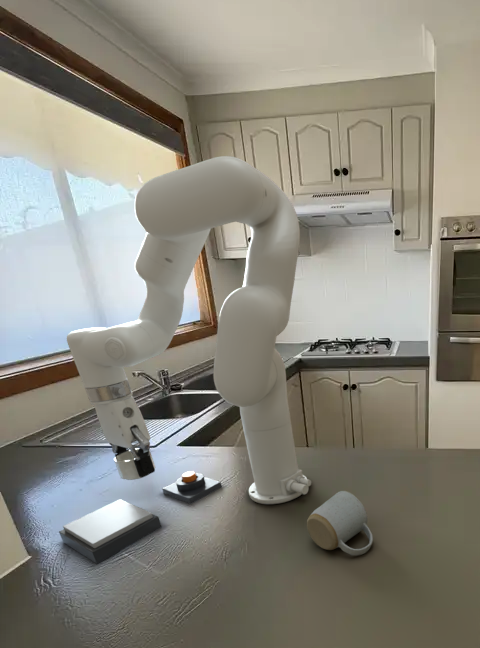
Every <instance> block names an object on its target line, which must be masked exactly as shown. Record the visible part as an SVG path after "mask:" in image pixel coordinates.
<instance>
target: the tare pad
mask: <svg viewBox="0 0 480 648" xmlns="http://www.w3.org/2000/svg"><path fill="white" fill-rule="evenodd" d="M195 474H196V477H197V479H196V480H194V481H191V482H186V483H184V482H183V479H182V475H181V476H180V477H178V478H177V479H176V480H175V481H174V482H172V483H170V484H168V485H166V486H164V487H162V492H163V494H164V495H166V496H169V497H171V498H175V499H177V500H179V501H182V502H183V503H184V502H185V503H187V504H189V505H192V504H193V503H195V502H198V501H199V500H200V499H202V498H204V497H206V496H208V495H209V494H212V493H213V492H215V491H217V490H219V489H221V488H222V483H221V481H220V480H217V479H214V478H211V477H207V476H204V474H203V473H202V472H195Z"/></svg>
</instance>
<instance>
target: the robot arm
mask: <svg viewBox="0 0 480 648" xmlns="http://www.w3.org/2000/svg"><path fill="white" fill-rule="evenodd" d="M133 205H134V207H133V208H134V213H135V218H136V220H137V222H138V224H139V225H140V226H141V227H142V229H143V230H144V231H145V232H146V233H145V236H144V238H143V241H142V243H141V245H140V249H139V251H138V253H137V256H136V259H135V261H134V270H135V272H136V274H137V275H138V277H140V278H141V279H142V280H143V283H144V285H145V288H146V293H145V299H144V302H143V305H142V308H141V310H140V312H139V315H138V317H137V319H136V320H134V321H133V320H132V321H128V322H125V323H122V324H118V325H113V326H110V327H104V326H96V327H87V328H82V329H81V328H80V329H77V330H73V331H70V332H69V333H68V334H67V335H66V343H67V346H68V348H69V351H70V353H71V356H72V358H73V361H74V364H75V366H76V370H77V372H78V374H79V377H80V380H81V383H82V385H83V388H84V390H85V393H86V396H87V398H88V401H89V403H90V405H93V406H94V409H95V414H96V416H97V420H98V423H99V426H100V429H101V432H102V434H103V437H104V439H105V440H106V442H107V443H108V444H109V445H110V446H111V450H112V452H113V454H114V458H115V457H116V456H118V455H119V454H121V453H123V452H126V451H129V450H130V451H131V453H132V454H133V456H134V458H135V459H136V460H134V463H135V466H136V469H137V472H138V474H139V477H143V478H145V477H147V476H149V475H151V474H153V473H155V471H156V468H155V469H154V466H153V463H152V460H151V457H150V452H151V449H150V446H151V442H150V441H151V434H150V433H149V430H148V427H147V424H146V422H145V419H144V417H143V414H142V411H141V410H140V408H139V406H138V404H137V402H136V400H135V398H134V395H133V391H132V388H131V385H130V382H129V379H128V376H127V374H126V370H125V368H130V367H134V366H136V365H139V364H141V363H144V362H146V361H148V360H151V359H153V358H156V357H158V356H160V355H161V354H163V353H164V352H165V351H166V350H167V348H168V347H169V346H170V344H171V341H173V338H174V335H175V334H176V332H177V330H178V327H179V325H180V322H181V320H182V316H183V311H184V303H185V289H186V287H187V283H188V281H189V279H190V277H191V275H192V272H193V270H194V267H195V265H196V263H197V261H198V258H199V257H200V254H201V253H202V251H203V248H204V246H205V244H206V241H207V240H208V237H209V235H210V233H211V229H214V228H217V227H220V226H224V225H228V224H231V223H239V224H243V225H244V224H245V225H247V226H248V227H249V228H250V232H251V238H250V241H249V245H248V250H247V253H246V259H245V271H244V278H243V283H242V287H238V288H236V289H234V290H233V291H232V292H230V294H228V296H226V298H225V299H224V301H223V303H222V305H221V308H220V312H219V316H218V323H217V333H216V340H215V341H216V343H215V351H214V359H213V360H214V361H213V382H214V386H215V389H216V392H217V393H218V395H219V396H220V397H221V398H222V399H223V400H224V401H225V402H226V403H228V404H229V405H232V406H235V407H239V414H240V420H241V425H242V429H243V434H244V439H245V444H246V449H247V454H248V458H249V463H250V468H251V472H252V477H253V481H254V482H252V484H251V485H250V486H249V488H248V495H249V498H250V499H251V500H252V501H253V502H256V503H258V504H260V505H261V504H262V505H279V504H283V503H288V502H290V501H292V500H294V499H296V498H298V497H300V496H301V495H307V494H308V492H309V487H311V486H312V480H311V479H309V478H307V476H306V475H304V474H303V469H300V468H299V463H298V458H297V451H296V445H295V440H294V438H295V437H294V431H293V426H292V420H291V418H292V417H291V414H290V413H291V412H290V406H289V398H288V388H287V385H288V384H287V372H286V366H285V362H284V359H283V357H282V355H281V354H280V352H279V351H278V350H277V348H276V343H277V342H276V341H277V337H278V336H279V335H281V333H283V332H284V331H285V329H286V328H287V326H288V324H289V321H290V314H291V306H292V297H293V292H294V285H295V281H296V280H295V279H296V272H297V271H296V270H297V264H298V259H299V252H300V251H299V249H300V240H301V231H300V229H301V228H300V221H299V218H298V215H297V212H296V209H295V207H294V204H293V203H292V201H291V200H290V198H289V196H288V195H287V194H286V192H284V190H283V189H282V188H281V187H280V186H279V185H278V184H277V183H275V181H273V180H272V179H271V177H269V176H268V175H267V174H265V173H264V172H262V171H261V170H260V169H258V168H256V167H254V166H253V165H252V164H250V163H249V162H247V161H245V160H243V159H241V158H239V157H236V156H233V155H232V156H231V155H222V156H221V155H220V156H215V157H212V158H208V159H205V160H203V161H199V162H197V163H194V164H190V165H188V166H185V167H182V168H178V169H176V170H172V171H170V172H167V173H163V174H161V175H158V176H155V177H153V178H151V179H149V180H147V181H146V182H144V183H143V185H141V186H140V188H139V189H138V191H136V195H135V198H134V204H133ZM135 442H136V443H135ZM133 443H134V444H133ZM138 448H139V449H138ZM135 449H138V453H137V451H136V450H135ZM149 451H150V452H149ZM144 476H145V477H144Z"/></svg>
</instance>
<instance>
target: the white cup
mask: <svg viewBox="0 0 480 648" xmlns="http://www.w3.org/2000/svg"><path fill="white" fill-rule="evenodd" d="M139 448H140V447H137V448H135V450H136V451H137V453H138V449H139ZM149 452H150V457H151V460H152V463H153V466H154V469H155V470H156V465H155V462H154V458H153V455H152V453H151V450H150V451H149ZM134 460H136V459H135V458H134V456H133V454H132V453H131V451H130V450H129V451H126V452H123V453H121V454H119V455H118V456H116V457H115V456H114V458H113V461H114V464H115V467H116V470H117V472H118V474H119V477H120V479H122V480H125V481H135V480H140V479H143V478H145V477H146V476H144V477H139V474H138V472H137V469H136V466H135V463H134Z"/></svg>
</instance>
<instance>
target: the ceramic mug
mask: <svg viewBox="0 0 480 648" xmlns="http://www.w3.org/2000/svg"><path fill="white" fill-rule="evenodd" d="M367 524H368V514H367V511H366V509H365V506H364V505H363V503H362V502H361V501H360V500H359V499H358V498H357V497H356V496H355V495H354V494H353V493H351V492H350V491H346V490H340V491H337V492H336V493H335V494H334V495H332V496H331V497H330V498H329V499H328V500H326V501H325V502H323V503H322V504H321V505H319V506H318V507H317V508H316V509H314V510H313V512H311V514H309V516H308V518H307V519H306V528H307V529H306V530H307V532H308V534H309V536H310V538H311V539H312V540H313V542H314V543H315V544H316V545H317V546H318V547H320V548H321V549H324V550H327V551H333V550H335V549H338V548H339V549H341V551H343V552H344V553H346V554H349V556H350V555H351V556H361V555H364V554H366V553H367V552H368V551H369V550H370V549H371V547H372V545H373V542H374V538H373V534H372V532H371V529H370V528H369V527H368V525H367ZM361 531H363V532H364V534H365V535H366V536H367V538H368V544H367V545H365V546H364V547H361V548H353V547H351V546H348V544H346V542H348V541H349V540H351V539H352V538H353V537H354V536H356V535H357V534H358V533H361Z"/></svg>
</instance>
